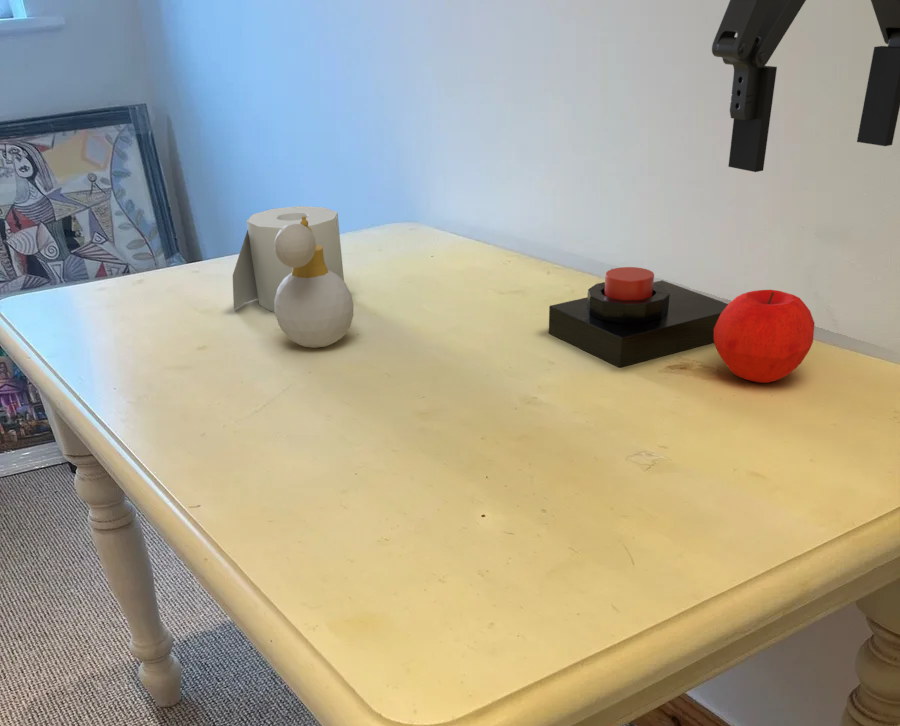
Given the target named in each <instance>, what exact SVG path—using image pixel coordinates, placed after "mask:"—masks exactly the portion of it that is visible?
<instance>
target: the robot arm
mask: <svg viewBox="0 0 900 726" xmlns="http://www.w3.org/2000/svg"><path fill="white" fill-rule="evenodd" d="M806 1H807V0H729V2H728V5H727V7H726V9H725V12H724V14H723V16H722V19H721V22H720V23H719V27H718V29H717V32H716V34H715V36H714V39H713V41H712V45H711V53H712V55H713V57H716V58H721V59H722V61H723V64H725V65H731V66H733V77H732V85H731V86H732V87H731V95H730V104H729V115H730V119H733V121H732V122H733V123H732V132H731V139H730V148H729V158H728V165H727V167H728V168H734V169H738V170H743V171H747V172H748V171H749V172H753V173H758V172H763V171H764V167H765V159H766V153H767V146H768V137H769V129H770V122H771V115H772V107H773V100H774V94H775V93H774V92H775V85H776V77H777V72H778V71H777V70H778V66H772V65H767V64H768V63H769V60H770V59H771V57H772V56H773V54H774V52H775V51H776V49H777V48H778V46H779V45H780V43H781V41H782V40H783V38H784V37H785V35H786V34H787V32H788V30H789V28H790V27H791V25H792V24H793V23H794V21H795V18H796V17H797V15H798V14H799V13H800V11H801V9H802V8H803V6H804V5H805V3H806ZM870 2H871V5H872V9H873V11H874V15H875V17H876V20H877V23H878V26H879V30H880V32H881V35H882V39H883V41H884V43H885V44H886V45H878V46H873V52H872V58H871V63H870V67H869V73H868V79H867V84H866V89H865V95H864V101H863V106H862V112H861V117H860V118H861V119H860V121H859V122H860V123H859V128H858V134H857V139H856V142H857V143H861V144H868V145H875V146H881V147H890V146H892V145H893V142H894V137H895V132H896V127H897V123H898V118H899V114H900V0H870Z"/></svg>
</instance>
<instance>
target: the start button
mask: <svg viewBox="0 0 900 726" xmlns="http://www.w3.org/2000/svg"><path fill="white" fill-rule="evenodd" d="M604 282H605V290H604V295H605V296H607V297H610V298H612V299H620V300H642V299H646V298H650V297H652V294H653V283H654V282H655V273H654V271H652V270H650V269H647V268H643V267H637V266H636V267H635V266H623V267H616V268H615V267H614V268H612V269H609V270H607V271H606V272H605V276H604Z"/></svg>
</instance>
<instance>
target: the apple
mask: <svg viewBox="0 0 900 726" xmlns="http://www.w3.org/2000/svg"><path fill="white" fill-rule="evenodd" d="M727 304H728V305H727V306H726V308H725V309H724V310H723V311H722V313H721V314H720V316H719V318H718V321H717V323H716V325H715V327H714V342H713V343H714V346H715V348H716V350H717V353H718V355H719V356H720V358H721V359H722V361H723V363H724V364H725V365H726V366H727V368H728V369H729V370H730V372H731V373H732V374H734V375H735V376H736V377H739V378H742V379H744V380H747V381H751V382H754V383H764V384H768V383H772V382H775V381H779V380H781V379H783V378H785V377H787V376H788V375H790V374H791V373H792V372H793V371H794V370H796V369H797V368H798V367H799V366H800V365H801V364H802V363H803V361H804V360H805V358H806V357H807V355H808V353H809V351H810V350H811V348H812V346H813V343H814V336H815V335H814V334H815V320H814V317H813V315H812V312H811V309H809V307H808V306H807V305H806V303H805V302H804V301H803V300H802V299H801V297H799V296H797V295H794V294H792V293H788V292H785V291H783V290H775V289H760V290H759V289H757V290H751V291H748V292H745V293H741V294H740V295H737V296H736V297H734V299H732V300H731V301H730V302H729V303H727Z"/></svg>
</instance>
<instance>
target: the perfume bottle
mask: <svg viewBox="0 0 900 726" xmlns="http://www.w3.org/2000/svg"><path fill="white" fill-rule="evenodd" d="M274 249H275V253H276V256H277V257H278V259H279V260H280V261H281V262H282V263H283V264H285V265H286V266H288V267H293V269H292V273H290V274H289V275H288V276H287V277H285V278H284V280H283V281H282V283H281V284H280V286H279V287H278V289H277V293H276V296H275V300H274V311H273V312H274V315H275V318H276V321H277V324H278V326H279V328H280V329H281V331H282V332H283V334H284V335H285V336H286V337H287V338H288V339H289V340H290V341H291V342H293V343H296V344H297V345H299V346H301V347H303V348H304V347H305V348H312V349H317V348H325V347H328V346H331V345H333V344H335V343H337V342H338V341H340V340H341V339H342V338H344V337H345V335H346V334H347V332H348V331H349V329H350V327H351V326H352V322H353V319H354V300H353V296H352V294H351V291H350V290H349V287H348V286H347V284H346V282H345V280H344V281H343V280H342V279H341V278H340V277H339V276H338V275H337V274H335V273H333V272H331V271H329V270H328V269H327V267H326V265H325V262H324V255H323V247H322V246H321V245H317V244H316V242H315V238H314V235H313V234H312V230H311V228H309V227H308V221H307V220H306V217H305V216H303V217H302V221H301V223H300V224H289V225H287V226H285V227H283V228H282V229H281V230H280V231H279V232H278V234H277V235H276V238H275V241H274Z"/></svg>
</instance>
